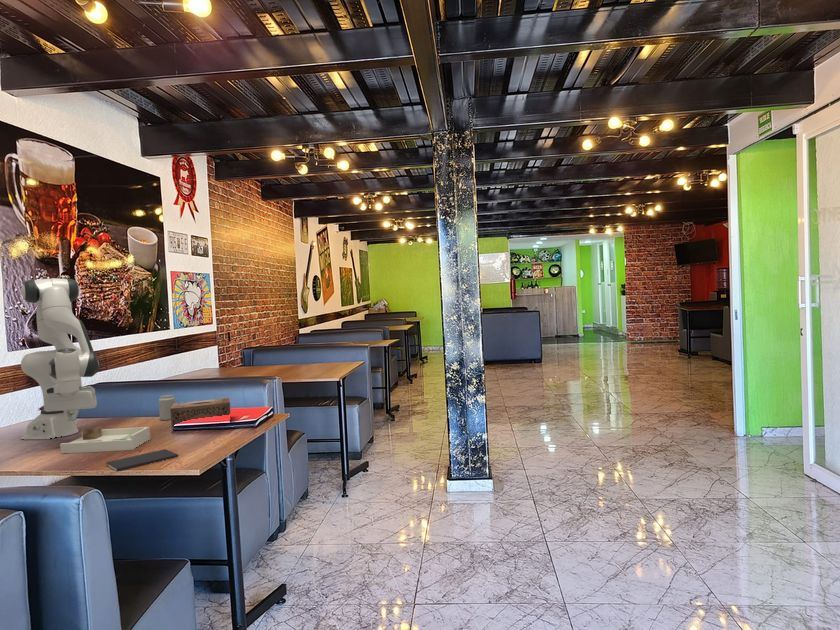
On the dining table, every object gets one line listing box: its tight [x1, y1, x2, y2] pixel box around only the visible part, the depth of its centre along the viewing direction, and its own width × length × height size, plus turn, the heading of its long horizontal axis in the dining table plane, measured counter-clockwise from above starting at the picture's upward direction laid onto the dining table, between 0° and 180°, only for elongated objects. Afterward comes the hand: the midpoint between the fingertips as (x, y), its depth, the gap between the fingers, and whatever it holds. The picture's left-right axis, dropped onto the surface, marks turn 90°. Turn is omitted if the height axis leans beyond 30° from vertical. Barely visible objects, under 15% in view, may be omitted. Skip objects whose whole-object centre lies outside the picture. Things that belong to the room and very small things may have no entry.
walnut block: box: [81, 426, 102, 440], centre depth 237 cm, size 5×5×4 cm
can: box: [158, 394, 176, 422], centre depth 284 cm, size 8×8×12 cm
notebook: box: [105, 449, 179, 472], centre depth 209 cm, size 13×2×21 cm
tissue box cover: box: [170, 397, 231, 428], centre depth 271 cm, size 26×14×10 cm, turn 109°
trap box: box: [59, 426, 151, 454], centre depth 234 cm, size 28×16×6 cm, turn 92°
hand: (72, 420), depth 236 cm, fingers closed
